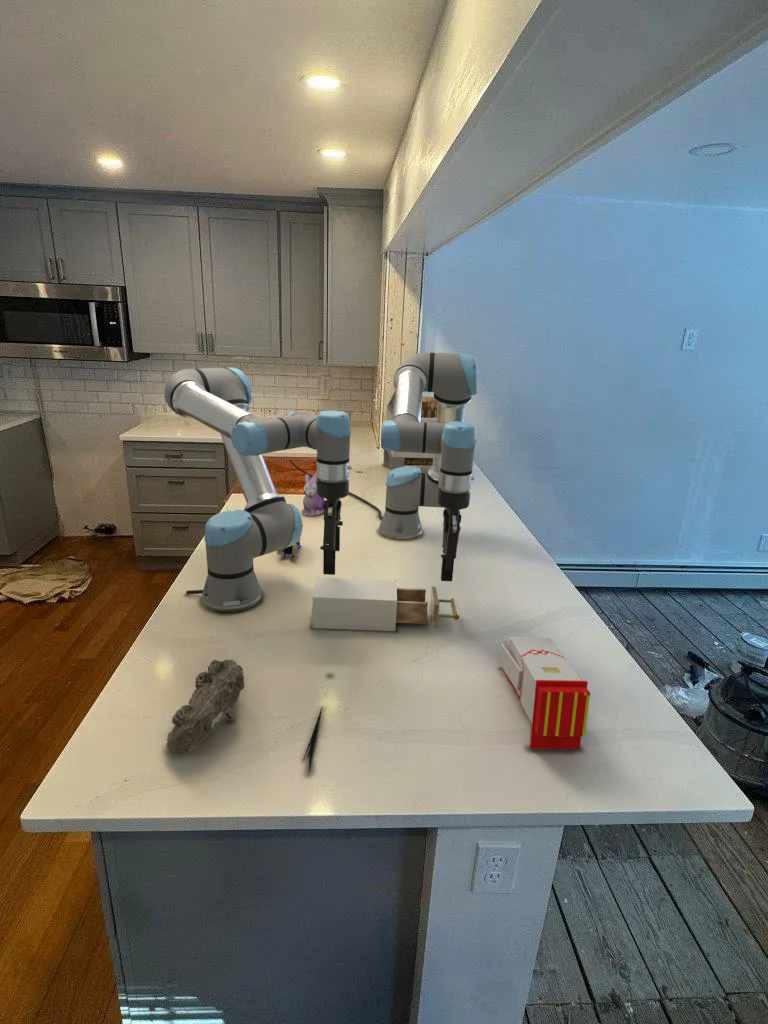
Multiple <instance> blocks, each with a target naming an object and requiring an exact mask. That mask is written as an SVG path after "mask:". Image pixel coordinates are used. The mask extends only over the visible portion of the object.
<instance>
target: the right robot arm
mask: <svg viewBox="0 0 768 1024" xmlns="http://www.w3.org/2000/svg"><path fill="white" fill-rule="evenodd" d="M477 366H478V365H477V358H476V357H475V356H474V355H473V354H467V353H462V352H460V353H451V352H431V351H424V352H422V351H421V352H419V353H415V354H413V355H410V357H407V358H406V359H405V360H403V361H402V363H400V364H399V365H398V367H397V368H396V369H395V372H394V374H393V375H394V376H393V381H392V382H393V387H394V389H395V390H396V391H395V390H394V392H395V399H394V406H393V413H392V420H386V419H385V420H383V422H382V423H381V430H380V447H381V449H382V450H383V451H384V450H387V451H395V452H415V453H431V454H434V455H433V465H430V466H428V469H427V472H422V469H421V468H420V467H419V466H418V467H417V466H407V465H406V466H404V467H399V468H395V469H393V470H391V471H390V470H389V471H388V473H387V475H386V482H385V487H386V488H385V489H386V490H385V504H384V505H385V507H384V508H385V509H384V513H383V515H382V511H381V510H380V509H379V508H378V506H376V505H374V504H372V503H370V502H369V501H367V500H366V499H364V498H362V497H360V496H358V495H357V494H354V493H352V492H351V491H349V494H348V495H350V496H352V497H354V498H356V499H357V500H360V501H362V502H363V503H365V504H366V505H368V506H370V507H372V508H373V509H374V510H375V511H377V513H378V518H379V519H380V520H381V522H379V526H378V533H379V534H380V535H381V536H382V537H385V538H387V539H389V540H395V541H410V540H415V539H418V538H420V537H421V536H422V535H423V524H422V522H421V518H420V515H419V507H425V508H443V509H444V510H442V516H443V521H442V522H443V523H442V527H443V530H442V544H441V547H442V554H440V558H441V569H440V581H441V582H453V577H454V567H455V565H454V564H455V560H456V559H457V552H458V544H459V539H460V538H459V536H460V532H461V529H462V528H461V525H460V524H461V522H462V514H461V510H464V509H467V508H468V507H469V505H470V500H471V491H470V490H471V489H472V488H471V487H472V482H471V481H474V480H475V476H473V468H474V457H475V451H476V443H477V427H476V425H474V424H472V423H470V422H465V421H464V420H465V413H466V405H468V403H470V402H471V401H472V396H475V395H477V394H478V367H477ZM423 392H425V393H433V397H434V399H435V400H436V401H437V402H438V408H437V420H436V423H427V422H420V421H421V405H422V397H423ZM289 462H290V464H291V465H292V466H293V467H295V468H296V469H297V470H298V471H300V472H301V473H302V474H304V475H305V476H306V475H307V474H308V475H309V477H310V478H312V477H313V476H314V475H312V474H311V473H308V472H307V471H305V470H303V469H302V468H301V467H299V466H298V465H297V464H296V463H294V461H292V459H289ZM317 480H318V478H317Z"/></svg>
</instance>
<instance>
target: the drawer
mask: <svg viewBox="0 0 768 1024" xmlns="http://www.w3.org/2000/svg"><path fill="white" fill-rule="evenodd" d="M426 592H427V589H426V588H409V587H397V613H396V624H422V625H427V619H428V618H427V617H428V605H429V612H430V619H431V626H432V629H438V626H439V625H438V624H439V618H443V619H444V618H446V619H447V618H448V619H454V620H455V621H458V620H460V618H461V616H460V612H459V608H458V603H457V599H456V598H455V597H451V598H450V599H445V598H444V599H440V598H439V594H438V590H437V586H433V585H432V586H431V589H430V600H429V603H428V601H426V595H427V593H426ZM440 603H448V604H449V603H450V607H451V611H452V614H444V613H440Z"/></svg>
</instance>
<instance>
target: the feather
mask: <svg viewBox="0 0 768 1024" xmlns="http://www.w3.org/2000/svg"><path fill="white" fill-rule="evenodd" d="M329 675H330V676H331V675H332V674H331V673H330V674H329ZM322 710H323V707H321V708H320V710H319V713H318V716H317V719H316V723H315V725H314V728H313V731H312V733H311V737H310V739H309V742H308V745H307V748H306V751H305V754H304V757H303V760H302V763H301V767H302V765H303V763H304V761H305V758H308V759H309V760H308V762H307V763H308V764H307V766H308V771H310V770H311V766H312V765H311V764H312V760H313V757H315V756H314V755H315V751H316V749H315V746H317V739H318V733H319V729H320V722H321V717H322V712H323V711H322ZM313 754H314V755H313ZM306 755H307V757H306Z"/></svg>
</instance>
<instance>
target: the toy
mask: <svg viewBox="0 0 768 1024" xmlns="http://www.w3.org/2000/svg"><path fill="white" fill-rule="evenodd" d="M504 640H505V641H504V642H505V643H502V642H501V643H500V644H499V649H498V650H499V651H498V658H497V662H498V663H499V665H500V668H501V670H502V672H503V674H504V675H505V677H506V679H507V680H508V682H509V684H510V686H511V688H512V689H513V692H514V693H515V694H516V696H517V698H518V700H519V701H520V704H521V706H522V708H523V710H524V712H525V715H526V716H527V718H528V719H529V722H530V724H531V729H530V738H529V739H530V740H529V749H532V750H533V749H534V750H535V749H537V750H538V749H539V750H581V742H582V737H586V732H587V723H588V714H589V706H590V705H589V704H590V699H591V692H590V690H589V689H588V681H587V680H582V679H581V678H580V677H579V675H578V674H577V673H576V671H575V670H574V668H573V667H572V666H571V665H570V663H569V662H568V661H567V659H566V658H565V657H564V655H563V654H562V653H561V651H560V650H559V648H558V646H557V645H556V643H554V642H553V640H552V639H551V638H550V637H521V636H519V637H516V636H515V637H513V636H511V637H509V638H505V639H504Z"/></svg>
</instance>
